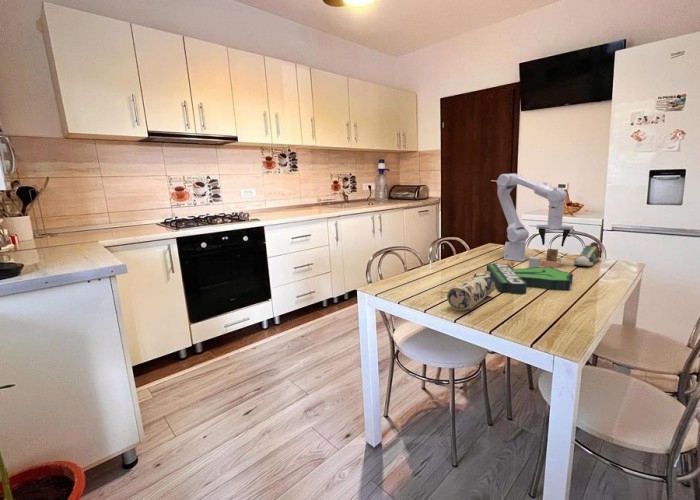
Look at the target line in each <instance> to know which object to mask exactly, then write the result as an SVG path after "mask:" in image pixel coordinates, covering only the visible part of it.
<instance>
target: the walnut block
mask: <svg viewBox="0 0 700 500" xmlns="http://www.w3.org/2000/svg"><path fill="white" fill-rule="evenodd" d="M558 252H559V249H557V248H556V249H553V248H548V249H547V251H546V257H545V258H546V261H554V262H556V261H557V259H558V254H559V253H558Z"/></svg>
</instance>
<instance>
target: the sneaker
mask: <svg viewBox="0 0 700 500" xmlns="http://www.w3.org/2000/svg"><path fill="white" fill-rule="evenodd" d="M600 253H601V249H600V246H599V243H598V242H596V241H593V242H591V243H589V244H588V245H585V246H584V248H583V250H582V252H581V253H580V254H579V255H577V256H576V257H575V259H574V260H573V264H574V266H582V267H593V266H594V263H597V262H598V261H599V259H600V258H601V257H600ZM596 261H597V262H596ZM593 262H594V263H593Z"/></svg>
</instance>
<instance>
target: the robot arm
mask: <svg viewBox="0 0 700 500" xmlns="http://www.w3.org/2000/svg"><path fill="white" fill-rule="evenodd" d="M496 184H497V197H498V201H499V203H500V206H501V208H502V211H503V214H504V217H505V219H506V221H507V228H506V233H507V235H506V237H507V239H508V241H505V244H504V248H503V249H504V253H503V260H505V261H515V262H525V261H526V259H527V257H526V256H525V255H526V254H525V253H526V242H527V240H528V239H529V237H530V233H529V231H528V229H527V228H526V227H525V225H524V224H523V223H521V221H520V219H519V215H518V213H517V210H516V207H515V205H514V202H513V199H512V197H511V193H512V190H513V189H515V187H516V186H517V185H520V186H523V187H525V188H528V189H530V190H532V191H533V193H534V194H535V195H538V196H540V197H542V198H544V199H546V200H547V201H548V203H549V204H548V205H549V206H548V214H547V216H548V217H547V224H536V227H535V228H536V230H538V234H539V236H540V239H541V244H542V245H543V246H544V245H545V244H546V241H545V240H546V230H548V231H550V230H551V231H562V240H561V246H560V247H564V244H565V243H566V242H565V241H566V240H567V237H568V236H569V234H570V233H571V232H573V231H574V226H571V225H563V219H564V218H563V217H564V207H565V201H566V200H567V198H568V193H567V191H566V190H564V189H563V188H559V189H558V187H556V186H551V185H548V182H544V181H543V182H540V183H537V182H535V181H533V180H531V179H529V178H527V177H525V176H523V175H521V174H518V173H512V172H511V173H502V174H500V175H499V176H498V177H497V180H496Z"/></svg>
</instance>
